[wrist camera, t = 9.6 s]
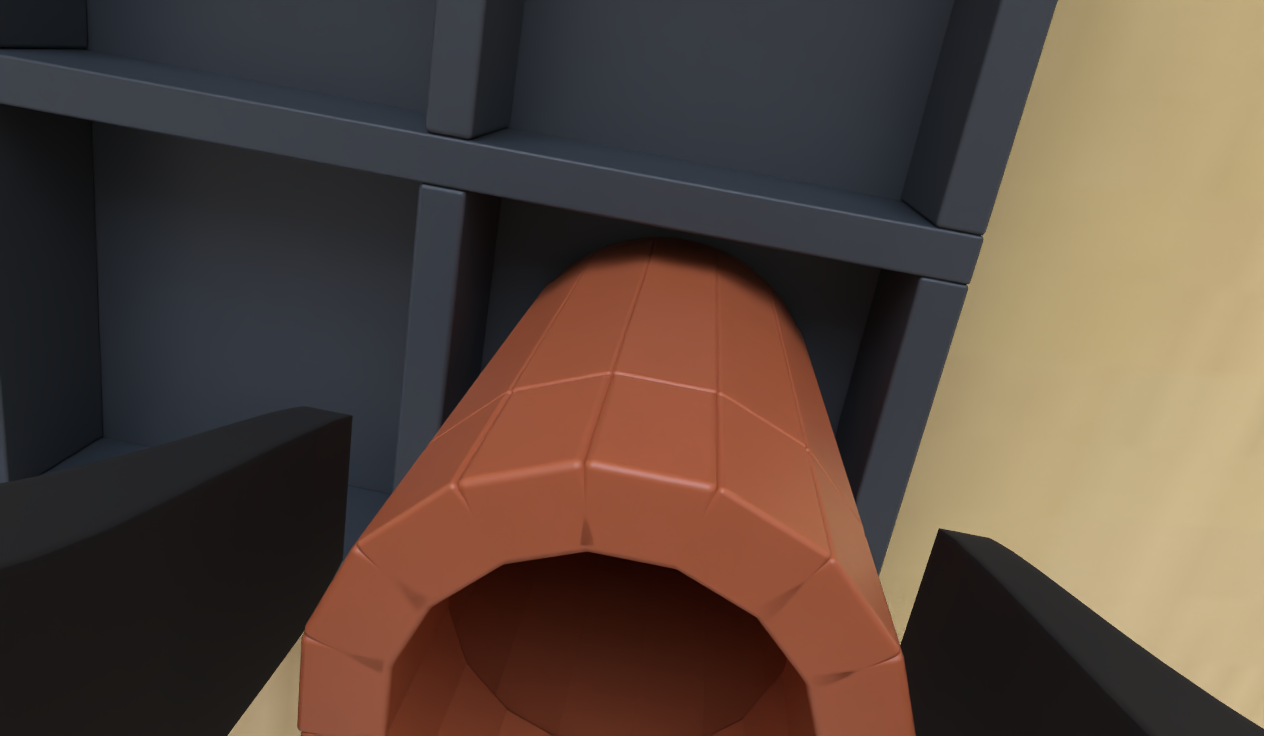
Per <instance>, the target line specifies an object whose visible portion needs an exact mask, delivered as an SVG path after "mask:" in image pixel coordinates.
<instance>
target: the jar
mask: <svg viewBox="0 0 1264 736" xmlns="http://www.w3.org/2000/svg"><path fill="white" fill-rule="evenodd" d="M297 727H298V729H299V730H300V731H302V732H301V736H916V733H915V726H914V720H913V713H912V707H911V700H910V694H909V687H908V681H907V674H906V668H905V661H904V656H903V653H902V650H901V647H900V644H899V640H898V637H897V634H896V631H895V628H894V625H893V621H892V618H891V615H890V612H889V609H888V605H887V602H886V599H885V596H884V593H883V590H882V586H881V583H880V580H879V577H878V574H877V571H876V567H875V564H874V561H873V558H872V555H871V552H870V548H869V545H868V542H867V539H866V537H865V534H864V529H863V525H862V522H861V519H860V516H859V513H858V509H857V506H856V503H855V500H854V497H853V494H852V490H851V487H850V484H849V481H848V478H847V475H846V471H845V468H844V465H843V462H842V459H841V456H840V452H839V449H838V446H837V443H836V440H835V437H834V433H833V430H832V427H831V424H830V421H829V418H828V414H827V411H826V408H825V405H824V402H823V399H822V395H821V392H820V389H819V386H818V383H817V380H816V376H815V373H814V370H813V367H812V364H811V361H810V357H809V354H808V351H807V348H806V345H805V342H804V338H803V337H802V333H801V332H800V330H799V329H798V327H797V326H796V324H795V321H794V319H793V317H792V316H791V314H790V312H789V310H788V309H787V307H786V305H785V303H784V302H783V301H782V299H781V298H780V297H779V296H778V294H777V293H776V292H775V290H774V289H773V288H772V287H771V286H770V285H769V284H768V283H767V282H766V281H765V280H764V279H763V278H762V277H761V276H760V275H759V274H758V273H756V272H755V271H754V270H752V269H751V268H750V267H748V266H747V265H746V264H744V263H743V262H742V261H740V260H738V259H736V258H734V257H733V256H731V255H729V254H727V253H725V252H723V251H721V250H718V249H716V248H713V247H711V246H708V245H705V244H701V243H697V242H693V241H689V240H684V239H675V238H667V237H665V238H641V239H634V240H627V241H623V242H620V243H616V244H613V245H609V246H606V247H604V248H602V249H599V250H597V251H595V252H592V253H590V254H588V255H587V256H585V257H583V258H582V259H580V260H578V261H577V262H575V263H573V264H572V265H571V266H570V267H568V268H567V269H566V270H565V271H563V272H562V273H561V274H560V275H559V276H558V277H557V278H556V279H555V280H554V281H552V282H551V283H549V284H548V285H547V286H546V287H545V288H544V289H543V290H542V292H541V293H540V294H539V296H538V297H537V298H536V300H535V301H534V302H533V304H532V305H531V306H530V308H529V309H528V310H527V312H526V313H525V315H524V316H523V317H522V319H521V320H520V321H519V323H518V324H517V325H516V327H515V328H514V329H513V331H512V332H511V333H510V335H509V336H508V337H507V339H506V340H505V342H504V343H503V344H502V346H501V347H500V348H499V350H498V351H497V352H496V354H495V355H494V356H493V358H492V359H491V360H490V362H489V363H488V364H487V366H486V367H485V368H484V370H483V371H482V373H481V374H480V375H479V377H478V378H477V379H476V381H475V382H474V383H473V385H472V386H471V387H470V389H469V390H468V391H467V393H466V394H465V395H464V397H463V398H462V400H461V401H460V402H459V404H458V405H457V406H456V408H455V409H454V410H453V412H452V413H451V414H450V416H449V417H448V418H447V420H446V421H445V422H444V424H443V425H442V427H441V428H440V429H439V431H438V432H437V433H436V435H435V436H434V437H433V439H432V440H431V441H430V443H429V444H428V446H427V447H426V449H425V450H424V451H423V452H422V454H421V455H420V456H419V458H418V459H417V460H416V462H415V463H414V464H413V466H412V467H411V468H410V470H409V471H408V472H407V474H406V475H405V477H404V478H403V479H402V481H401V482H400V483H399V485H398V486H397V487H396V489H395V490H394V491H393V493H392V494H391V495H390V497H389V498H388V499H387V501H386V502H385V504H384V505H383V506H382V508H381V509H380V510H379V512H378V513H377V514H376V516H375V517H374V518H373V520H372V521H371V522H370V524H369V525H368V526H367V528H366V529H365V531H364V532H363V533H362V535H361V536H360V537H359V539H358V540H357V541H356V543H355V544H354V545H353V547H352V548H351V550H350V551H349V553H348V555H347V556H346V558H345V560H344V561H343V563H342V565H341V566H340V568H339V570H338V571H337V573H336V575H335V576H334V578H333V580H332V582H331V583H330V585H329V587H328V588H327V590H326V592H325V593H324V595H323V597H322V598H321V600H320V602H319V603H318V605H317V607H316V608H315V610H314V612H313V613H312V615H311V617H310V618H309V620H308V622H307V623H306V625H305V632H304V635H303V637H302V644H301V664H300V683H299V703H298V722H297Z"/></svg>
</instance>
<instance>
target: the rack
mask: <svg viewBox="0 0 1264 736" xmlns="http://www.w3.org/2000/svg"><path fill="white" fill-rule="evenodd" d="M1056 4H1057V0H0V483H5V482H10V481H16V480H21V479H25V478H30V477H35V476H40V475H44V474H49V473H53V472H58V471H62V470H67V469H71V468H75V467H79V466H82V465H86V464H90V463H94V462H98V461H101V460H105V459H109V458H113V457H117V456H120V455H124V454H128V453H132V452H136V451H139V450H143V449H147V448H151V447H155V446H158V445H162V444H165V443H169V442H172V441H175V440H179V439H182V438H185V437H189V436H192V435H195V434H199V433H202V432H205V431H209V430H212V429H216V428H219V427H222V426H226V425H229V424H232V423H236V422H239V421H242V420H246V419H249V418H253V417H256V416H260V415H263V414H267V413H271V412H275V411H279V410H283V409H288V408H293V407H300V406H307V407H312V408H317V409H323V410H328V411H333V412H338V413H343V414H349V415H353V419H352V434H351V448H350V463H349V477H348V492H347V506H346V521H345V535H344V550H343V560H342V562H341V564H340V566H341V565H342V563H343V561H344V560H345V558H346V556H347V555H348V553H349V551H350V550H351V548H352V547H353V545H354V544H355V543H356V541H357V540H358V539H359V537H360V536H361V535H362V533H363V532H364V531H365V529H366V528H367V526H368V525H369V524H370V522H371V521H372V520H373V518H374V517H375V516H376V514H377V513H378V512H379V510H380V509H381V508H382V506H383V505H384V504H385V502H386V501H387V499H388V498H389V497H390V495H391V494H392V493H393V491H394V490H395V489H396V487H397V486H398V485H399V483H400V482H401V481H402V479H403V478H404V477H405V475H406V474H407V472H408V471H409V470H410V468H411V467H412V466H413V464H414V463H415V462H416V460H417V459H418V458H419V456H420V455H421V454H422V452H423V451H424V450H425V449H426V447H427V446H428V444H429V443H430V441H431V440H432V439H433V437H434V436H435V435H436V433H437V432H438V431H439V429H440V428H441V427H442V425H443V424H444V422H445V421H446V420H447V418H448V417H449V416H450V414H451V413H452V412H453V410H454V409H455V408H456V406H457V405H458V404H459V402H460V401H461V400H462V398H463V397H464V395H465V394H466V393H467V391H468V390H469V389H470V387H471V386H472V385H473V383H474V382H475V381H476V379H477V378H478V377H479V375H480V374H481V373H482V371H483V370H484V368H485V367H486V366H487V364H488V363H489V362H490V360H491V359H492V358H493V356H494V355H495V354H496V352H497V351H498V350H499V348H500V347H501V346H502V344H503V343H504V342H505V340H506V339H507V337H508V336H509V335H510V333H511V332H512V331H513V329H514V328H515V327H516V325H517V324H518V323H519V321H520V320H521V319H522V317H523V316H524V315H525V313H526V312H527V310H528V309H529V308H530V306H531V305H532V304H533V302H534V301H535V300H536V298H537V297H538V296H539V294H540V293H541V292H542V290H543V289H544V288H545V287H546V286H547V285H548V284H549V283H551V282H552V281H554V280H555V279H556V278H557V277H558V276H559V275H560V274H561V273H562V272H563V271H565V270H566V269H567V268H568V267H570V266H571V265H572V264H573V263H575V262H577V261H578V260H580V259H582V258H583V257H585V256H587V255H588V254H590V253H592V252H595V251H597V250H599V249H602V248H604V247H606V246H609V245H613V244H616V243H620V242H623V241H627V240H634V239H641V238H665V237H667V238H675V239H684V240H689V241H693V242H697V243H701V244H705V245H708V246H711V247H713V248H716V249H718V250H721V251H723V252H725V253H727V254H729V255H731V256H733V257H734V258H736V259H738V260H740V261H742V262H743V263H744V264H746V265H747V266H748V267H750V268H751V269H752V270H754V271H755V272H756V273H758V274H759V275H760V276H761V277H762V278H763V279H764V280H765V281H766V282H767V283H768V284H769V285H770V286H771V287H772V288H773V289H774V290H775V292H776V293H777V294H778V296H779V297H780V298H781V299H782V301H783V302H784V303H785V305H786V307H787V309H788V310H789V312H790V314H791V316H792V317H793V319H794V321H795V324H796V326H797V327H798V329H799V330H800V332H801V333H802V337H803V338H804V342H805V345H806V348H807V351H808V354H809V357H810V361H811V364H812V367H813V370H814V373H815V376H816V380H817V383H818V386H819V389H820V392H821V395H822V399H823V402H824V405H825V408H826V411H827V414H828V418H829V421H830V424H831V427H832V430H833V433H834V437H835V440H836V443H837V446H838V449H839V452H840V456H841V459H842V462H843V465H844V468H845V471H846V475H847V478H848V481H849V484H850V487H851V490H852V494H853V497H854V500H855V503H856V506H857V509H858V513H859V516H860V519H861V522H862V525H863V529H864V534H865V537H866V539H867V542H868V545H869V548H870V552H871V555H872V558H873V561H874V564H875V567H876V571H877V574H878V577H879V574H880V571H881V567H882V564H883V561H884V558H885V554H886V551H887V548H888V545H889V542H890V538H891V535H892V532H893V529H894V526H895V522H896V519H897V516H898V513H899V509H900V506H901V503H902V500H903V497H904V493H905V490H906V487H907V484H908V480H909V477H910V474H911V471H912V468H913V464H914V461H915V458H916V455H917V452H918V448H919V445H920V442H921V439H922V435H923V432H924V429H925V426H926V423H927V419H928V416H929V413H930V410H931V406H932V403H933V400H934V397H935V394H936V390H937V387H938V384H939V381H940V378H941V374H942V371H943V368H944V365H945V361H946V358H947V355H948V352H949V349H950V345H951V342H952V339H953V336H954V332H955V329H956V326H957V323H958V320H959V316H960V313H961V310H962V307H963V304H964V300H965V297H966V294H967V291H968V286H967V285H966V284H969V283H970V281H971V278H972V275H973V272H974V269H975V265H976V262H977V259H978V256H979V252H980V249H981V246H982V243H983V237H982V236H981V235H983V234H984V233H985V232H986V229H987V226H988V222H989V219H990V216H991V213H992V210H993V206H994V203H995V200H996V197H997V194H998V190H999V187H1000V184H1001V181H1002V177H1003V174H1004V171H1005V168H1006V165H1007V161H1008V158H1009V155H1010V152H1011V148H1012V145H1013V142H1014V139H1015V136H1016V132H1017V129H1018V126H1019V123H1020V120H1021V116H1022V113H1023V110H1024V107H1025V103H1026V100H1027V97H1028V94H1029V91H1030V87H1031V84H1032V81H1033V78H1034V74H1035V71H1036V68H1037V65H1038V62H1039V58H1040V55H1041V52H1042V49H1043V45H1044V42H1045V39H1046V36H1047V33H1048V29H1049V26H1050V23H1051V20H1052V17H1053V13H1054V10H1055V7H1056ZM340 566H339V568H340ZM339 568H338V570H339ZM338 570H337V571H338ZM336 573H337V572H336ZM335 575H336V574H335Z"/></svg>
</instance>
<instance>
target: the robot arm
mask: <svg viewBox="0 0 1264 736" xmlns="http://www.w3.org/2000/svg"><path fill="white" fill-rule="evenodd" d="M352 419H353V415H349V414H343V413H338V412H333V411H328V410H323V409H317V408H312V407H307V406H300V407H293V408H288V409H283V410H279V411H275V412H271V413H267V414H263V415H260V416H256V417H253V418H249V419H246V420H242V421H239V422H236V423H232V424H229V425H226V426H222V427H219V428H216V429H212V430H209V431H205V432H202V433H199V434H195V435H192V436H189V437H185V438H182V439H179V440H175V441H172V442H169V443H165V444H162V445H158V446H155V447H151V448H147V449H143V450H139V451H136V452H132V453H128V454H124V455H120V456H117V457H113V458H109V459H105V460H101V461H98V462H94V463H90V464H86V465H82V466H79V467H75V468H71V469H67V470H62V471H58V472H53V473H49V474H44V475H40V476H35V477H30V478H25V479H21V480H16V481H10V482H5V483H0V736H227V735H228V734H229V733H230V731H231V730H232V728H233V727H234V726H235V724H236V723H237V722H238V720H239V719H240V718H241V716H242V715H243V714H244V712H245V711H246V710H247V708H248V707H249V706H250V704H251V703H252V701H253V700H254V699H255V697H256V696H257V695H258V693H259V692H260V691H261V689H262V688H263V687H264V685H265V684H266V683H267V681H268V680H269V679H270V677H271V676H272V674H273V673H274V672H275V670H276V669H277V668H278V666H279V665H280V663H281V662H282V661H283V659H284V658H285V657H286V655H287V654H288V652H289V651H290V650H291V648H292V647H293V646H294V644H295V643H296V641H297V640H298V639H299V637H300V636H301V634H302V633H303V631H304V630H305V625H306V623H307V622H308V620H309V618H310V617H311V615H312V613H313V612H314V610H315V608H316V607H317V605H318V603H319V602H320V600H321V598H322V597H323V595H324V593H325V592H326V590H327V588H328V587H329V585H330V583H331V582H332V580H333V578H334V576H335V574H336V572H337V570H338V568H339V566H340V564H341V562H342V560H343V550H344V535H345V521H346V506H347V492H348V477H349V463H350V448H351V434H352ZM900 647H901V650H902V653H903V656H904V661H905V668H906V674H907V681H908V687H909V694H910V700H911V707H912V713H913V720H914V726H915V733H916V736H1264V729H1263V728H1261V727H1260V726H1258V725H1256V724H1255V723H1253V722H1252V721H1250V720H1248V719H1247V718H1245V717H1244V716H1242V715H1241V714H1239V713H1237V712H1236V711H1234V710H1233V709H1231V708H1230V707H1228V706H1227V705H1225V704H1223V703H1222V702H1220V701H1219V700H1217V699H1216V698H1214V697H1213V696H1211V695H1210V694H1209V693H1207V692H1206V691H1204V690H1203V689H1201V688H1200V687H1198V686H1197V685H1195V684H1194V683H1192V682H1191V681H1190V680H1188V679H1187V678H1185V677H1184V676H1182V675H1181V674H1179V673H1178V672H1176V671H1175V670H1173V669H1172V668H1171V667H1169V666H1168V665H1166V664H1165V663H1163V662H1162V661H1160V660H1159V659H1158V658H1156V657H1155V656H1154V655H1152V654H1151V653H1149V652H1148V651H1147V650H1145V649H1144V648H1142V647H1141V646H1140V645H1138V644H1137V643H1135V642H1134V641H1133V640H1131V639H1130V638H1129V637H1127V636H1126V635H1125V634H1123V633H1122V632H1121V631H1119V630H1118V629H1116V628H1115V627H1114V626H1112V625H1111V624H1110V623H1108V622H1107V621H1106V620H1104V619H1103V618H1102V617H1100V616H1099V615H1098V614H1096V613H1095V612H1094V611H1092V610H1091V609H1090V608H1088V607H1087V606H1086V605H1085V604H1083V603H1082V602H1081V601H1079V600H1078V599H1077V598H1075V597H1074V596H1073V595H1071V594H1070V593H1069V592H1067V591H1066V590H1065V589H1063V588H1062V587H1061V586H1059V585H1058V584H1057V583H1055V582H1054V581H1053V580H1051V579H1050V578H1049V577H1047V576H1046V575H1045V574H1043V573H1042V572H1041V571H1039V570H1038V569H1037V568H1035V567H1034V566H1032V565H1031V564H1030V563H1028V562H1027V561H1025V560H1024V559H1023V558H1021V557H1020V556H1018V555H1017V554H1015V553H1014V552H1012V551H1011V550H1009V549H1008V548H1006V547H1005V546H1003V545H1001V544H999V543H998V542H996V541H994V540H992V539H990V538H986V537H981V536H976V535H971V534H965V533H960V532H955V531H950V530H945V529H939V530H938V533H937V536H936V539H935V542H934V545H933V548H932V551H931V554H930V557H929V560H928V563H927V566H926V569H925V572H924V575H923V578H922V581H921V584H920V587H919V591H918V594H917V597H916V600H915V603H914V606H913V609H912V612H911V615H910V618H909V621H908V624H907V627H906V630H905V633H904V636H903V639H902V642H901V645H900Z"/></svg>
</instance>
